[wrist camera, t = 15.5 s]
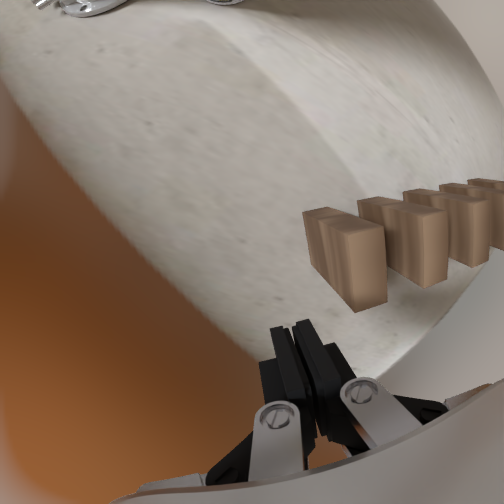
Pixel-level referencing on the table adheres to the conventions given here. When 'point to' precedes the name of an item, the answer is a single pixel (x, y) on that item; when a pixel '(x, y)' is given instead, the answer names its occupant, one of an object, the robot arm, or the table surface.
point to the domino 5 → (500, 207)
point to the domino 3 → (460, 223)
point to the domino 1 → (348, 256)
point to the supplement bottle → (224, 2)
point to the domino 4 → (487, 183)
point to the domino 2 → (411, 237)
